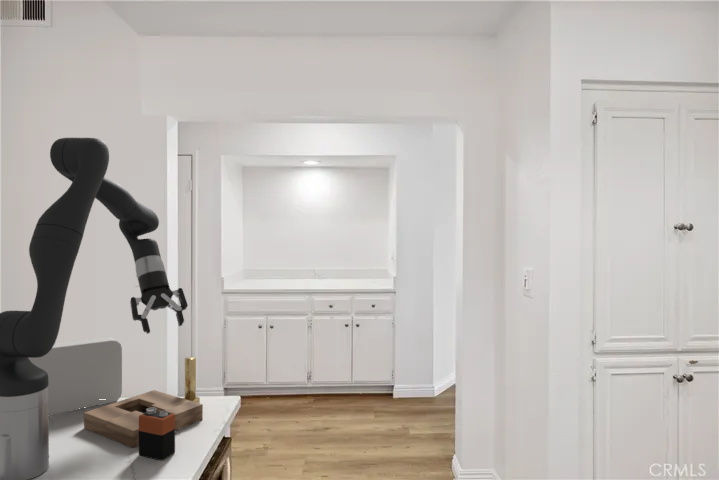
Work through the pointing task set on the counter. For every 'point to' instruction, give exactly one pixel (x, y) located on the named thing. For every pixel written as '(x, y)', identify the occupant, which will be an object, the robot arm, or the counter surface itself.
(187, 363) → the brass peg
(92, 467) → the counter surface
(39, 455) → the robot arm
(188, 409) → the walnut keyhole plate
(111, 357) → the grey rounded panel
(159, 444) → the battery
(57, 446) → the counter surface
